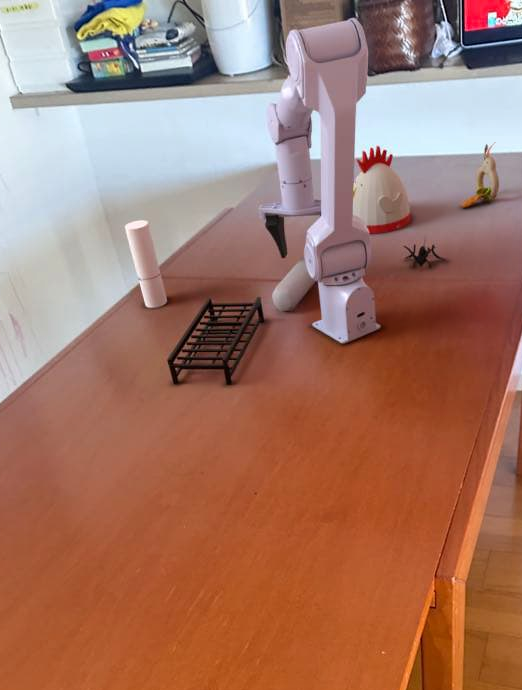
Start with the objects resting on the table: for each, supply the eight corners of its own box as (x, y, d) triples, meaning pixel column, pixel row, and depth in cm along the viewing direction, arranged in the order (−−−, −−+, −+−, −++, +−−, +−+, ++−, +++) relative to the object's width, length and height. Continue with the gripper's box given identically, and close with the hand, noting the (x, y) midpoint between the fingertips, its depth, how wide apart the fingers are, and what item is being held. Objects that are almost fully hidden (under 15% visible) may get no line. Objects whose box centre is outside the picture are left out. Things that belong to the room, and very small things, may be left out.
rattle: (453, 199, 170) (454, 144, 162) (489, 193, 170) (492, 137, 163) (463, 210, 164) (465, 153, 157) (500, 204, 165) (503, 146, 157)
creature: (408, 261, 150) (398, 269, 144) (409, 232, 148) (398, 239, 141) (448, 262, 148) (438, 270, 141) (449, 233, 145) (440, 240, 139)
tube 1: (171, 298, 148) (152, 220, 138) (159, 308, 146) (139, 229, 136) (152, 297, 150) (133, 219, 140) (141, 306, 147) (120, 228, 137)
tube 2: (296, 295, 133) (343, 238, 150) (269, 284, 134) (318, 229, 150) (291, 321, 137) (337, 263, 154) (264, 310, 138) (313, 254, 154)
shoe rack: (264, 320, 136) (261, 296, 133) (231, 385, 121) (226, 359, 118) (212, 321, 139) (207, 297, 136) (172, 384, 123) (166, 359, 120)
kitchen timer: (335, 221, 169) (329, 148, 159) (388, 205, 172) (386, 132, 162) (366, 238, 159) (362, 162, 149) (422, 221, 162) (422, 145, 153)
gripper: (340, 168, 134) (346, 245, 143) (261, 173, 137) (271, 248, 146) (333, 182, 129) (339, 261, 138) (251, 186, 132) (263, 263, 141)
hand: (304, 255), depth 142 cm, fingers open, 7 cm apart
